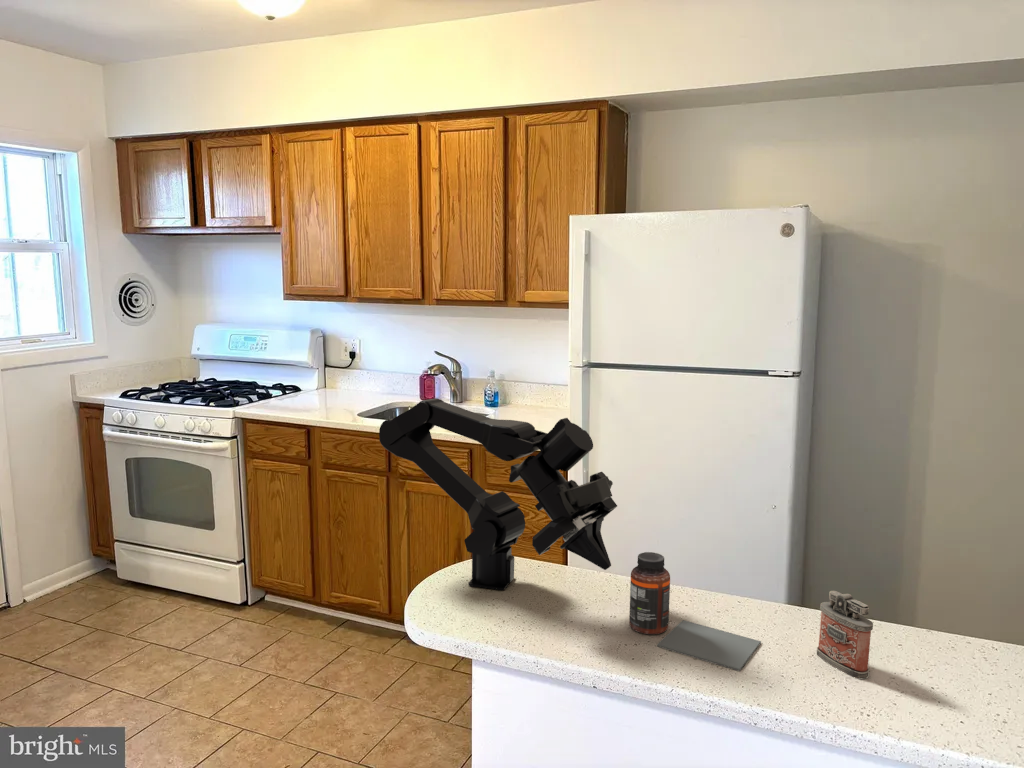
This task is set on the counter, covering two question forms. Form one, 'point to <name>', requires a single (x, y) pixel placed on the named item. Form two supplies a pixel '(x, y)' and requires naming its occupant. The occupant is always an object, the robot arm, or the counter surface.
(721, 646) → the mat
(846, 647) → the lighter
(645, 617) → the supplement bottle
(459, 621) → the counter surface
